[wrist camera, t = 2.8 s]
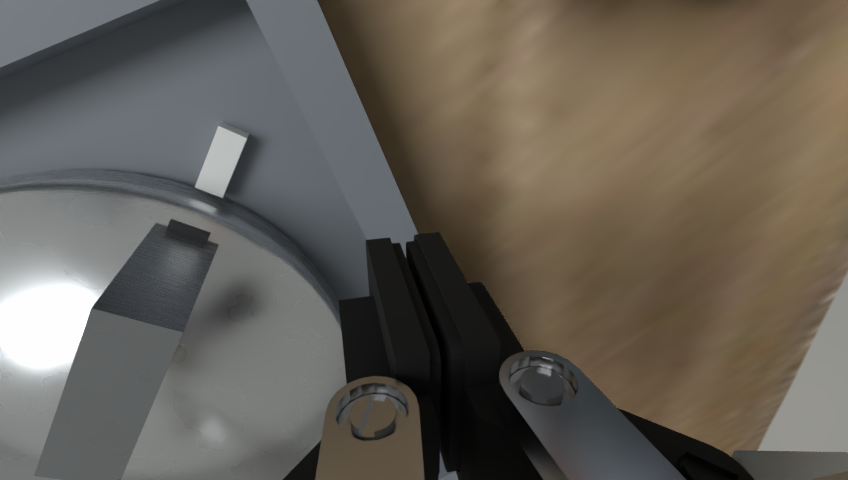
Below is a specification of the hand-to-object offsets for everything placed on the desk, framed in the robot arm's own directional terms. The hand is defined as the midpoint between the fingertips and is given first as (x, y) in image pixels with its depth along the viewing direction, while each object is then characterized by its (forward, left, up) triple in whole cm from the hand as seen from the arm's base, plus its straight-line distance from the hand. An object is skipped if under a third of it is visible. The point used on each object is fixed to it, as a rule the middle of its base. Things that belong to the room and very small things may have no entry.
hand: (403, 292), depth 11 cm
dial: (-2, +10, -5) cm, 11 cm away
